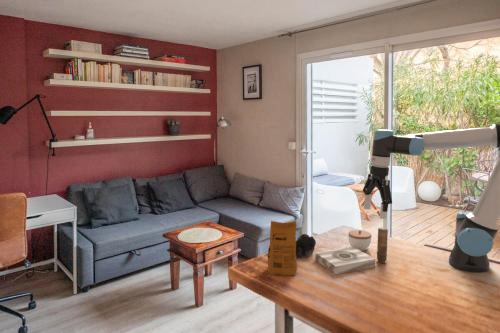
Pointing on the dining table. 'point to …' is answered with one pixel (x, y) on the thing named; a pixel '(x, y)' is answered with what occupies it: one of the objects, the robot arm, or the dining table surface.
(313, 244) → the crystal cluster
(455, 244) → the robot arm
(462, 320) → the dining table surface
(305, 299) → the dining table surface
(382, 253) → the peg
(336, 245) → the dining table surface
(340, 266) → the board
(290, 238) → the coffee package
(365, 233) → the lidded jar
